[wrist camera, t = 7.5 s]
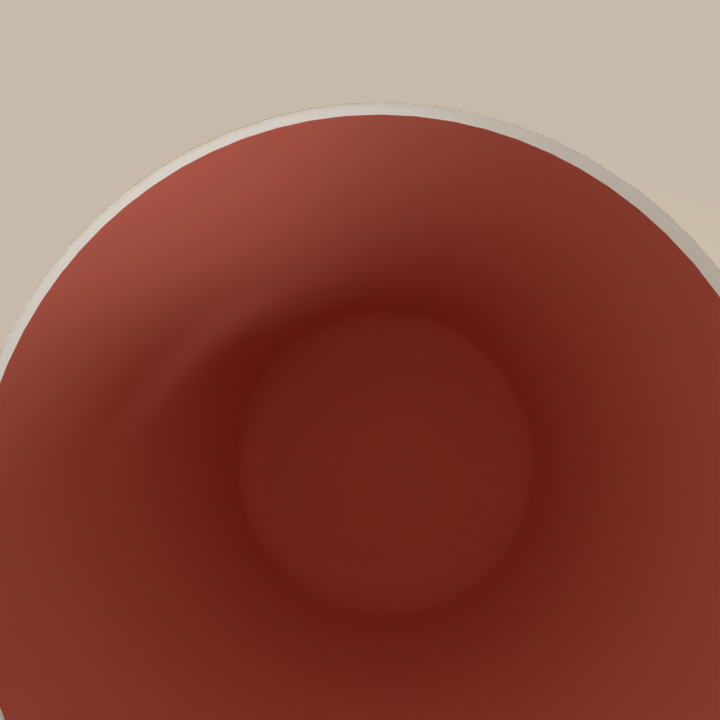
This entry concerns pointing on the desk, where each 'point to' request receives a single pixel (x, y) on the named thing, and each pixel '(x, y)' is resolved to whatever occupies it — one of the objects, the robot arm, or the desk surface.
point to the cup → (366, 438)
